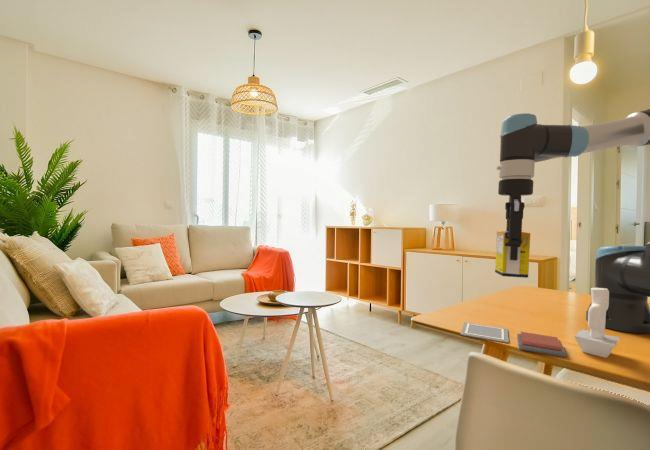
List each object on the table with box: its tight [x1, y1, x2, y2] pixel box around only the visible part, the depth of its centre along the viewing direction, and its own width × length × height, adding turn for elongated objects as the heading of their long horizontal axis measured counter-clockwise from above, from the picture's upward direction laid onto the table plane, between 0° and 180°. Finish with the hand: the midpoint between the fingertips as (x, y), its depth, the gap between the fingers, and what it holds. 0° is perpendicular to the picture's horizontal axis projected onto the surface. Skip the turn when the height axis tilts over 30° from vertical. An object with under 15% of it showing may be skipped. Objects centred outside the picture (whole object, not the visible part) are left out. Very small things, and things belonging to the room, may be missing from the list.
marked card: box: [460, 321, 510, 344], centre depth 90 cm, size 11×11×1 cm
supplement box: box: [494, 230, 531, 279], centre depth 84 cm, size 6×6×11 cm
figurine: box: [574, 287, 621, 359], centre depth 78 cm, size 7×9×15 cm
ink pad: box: [516, 331, 567, 358], centre depth 80 cm, size 9×8×2 cm
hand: (511, 271), depth 84 cm, fingers closed on supplement box, 7 cm apart
